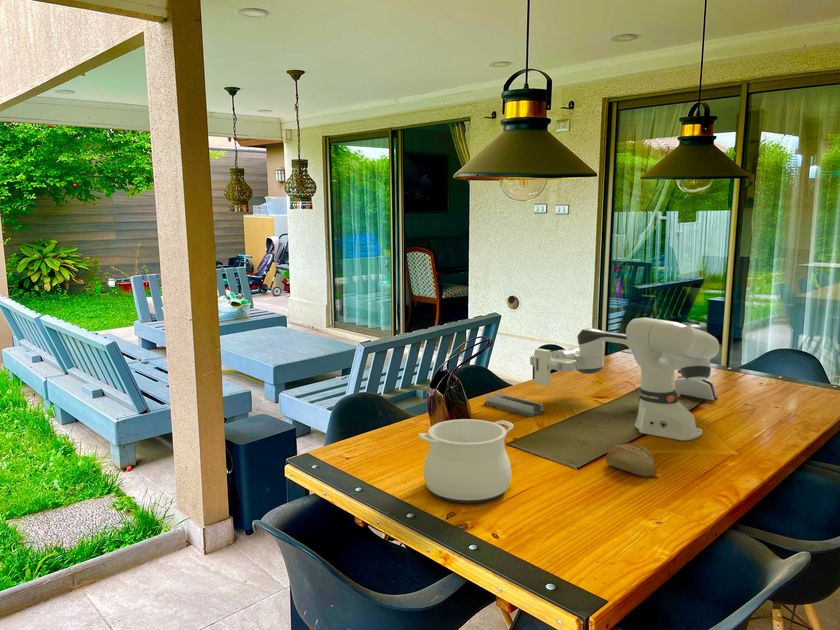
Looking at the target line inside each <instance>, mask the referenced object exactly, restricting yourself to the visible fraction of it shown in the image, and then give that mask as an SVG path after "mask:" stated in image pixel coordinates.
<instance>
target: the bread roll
mask: <svg viewBox="0 0 840 630" xmlns="http://www.w3.org/2000/svg"><path fill="white" fill-rule="evenodd" d="M605 462H606V464H607V465H609V466H610V467H613V468H616V469H619V470H622V471H624V472H625V471H626V472H629V473H630V474H634V475H637V476H640V477H644V478H648V477H652V476H653V475H654V474H655V470H656V465H655V462H654V459H653V456H652V454H651V452H650V451H649V450H648V449H647V448H646V447H644V446H642V445H640V444H638V443H635V442H634V443H633V442H629V441H628V442H623V443H620V444H616V445H615V446H614V447H612V448H611V449H609V450H608V452H607V453H606V455H605Z"/></svg>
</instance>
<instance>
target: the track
mask: <svg viewBox="0 0 840 630" xmlns="http://www.w3.org/2000/svg"><path fill="white" fill-rule="evenodd" d="M485 397H486V398H485V401H483V405H485V404H488V405H491V406H490V407H492V406H494V407H493V408H495V407H498V408H497V409H499V408H501V409H500V410H503V409H504V411H506V410H508V412H510V411H511V413H513V412H514V414H518V415H521V416H525V417H529V418H531V417H534V416H537V415H541V414H543V413H546V410H545V409H544V403H540V402H536V401H531V400H529V399H523V398H520V397H516V396H513V395H508V394H503V393H500V392H495V393H494V396H493V395H490V394H487V395H486V396H485ZM488 405H487V406H488Z"/></svg>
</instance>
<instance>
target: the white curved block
mask: <svg viewBox="0 0 840 630" xmlns="http://www.w3.org/2000/svg"><path fill="white" fill-rule="evenodd" d="M715 389H716V388H715V385H714V382H713V381H712V380H710V379H708V378H707V379H704V380H701V381H691V380H687V379H685V378H684V377H683V376H682V375H679V376H678V377H676V378H675V379H674V390H675V392H676V393H677V394H679V393H681V394H680V395H684V396H689V397H693V398H698V399H703V400H709V401H714V400H715V399H718V393H716V390H715Z"/></svg>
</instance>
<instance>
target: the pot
mask: <svg viewBox="0 0 840 630" xmlns="http://www.w3.org/2000/svg"><path fill="white" fill-rule="evenodd" d="M502 425H505V426H508V428H507V429H506V428H505V427H503V426H502ZM514 428H515V427H514V424H513V423H512V422H510V421H507V420H503V419H501V420H497V421H494V422H492V421H488V420H484V419H472V418H471V419H469V418H468V419H467V418H462V419H450V420H445V421H441V422H437V423H435V424H433V425H432V426H430V427H429V428H428V431H427V433H425V432H419V433H418V435H417V436H418V438H419V439H420V440H421V441H422V442H425V443H429V447H428V448H429V450H428V452H427V455H426V457H425V460H424V464H423V480H424V481H425V482H424V483H425V484H426V487H427V489H428V490H429V491H430V492H431V493H432V494H433V495H435V496H436V497H438V498H440V499H441V500H444V501H448V502H450V503H456V504H469V505H470V504H472V505H473V504H480V503H485V502H489V501H490V502H491V501H492V500H494V499H495V500H496V499H497V498H499V497H500V496H502V495H503V494H504V493H505V492H506V491H507V489H509V485H510V483H511V480H512V466H511V461H510V459H509V458H510V457H509V455H508V454H507V453H508V452H507V450H506V448H505V446H506V445H505V437H506V436H507V434H508V432H510V431H511V430H513V429H514Z"/></svg>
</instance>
